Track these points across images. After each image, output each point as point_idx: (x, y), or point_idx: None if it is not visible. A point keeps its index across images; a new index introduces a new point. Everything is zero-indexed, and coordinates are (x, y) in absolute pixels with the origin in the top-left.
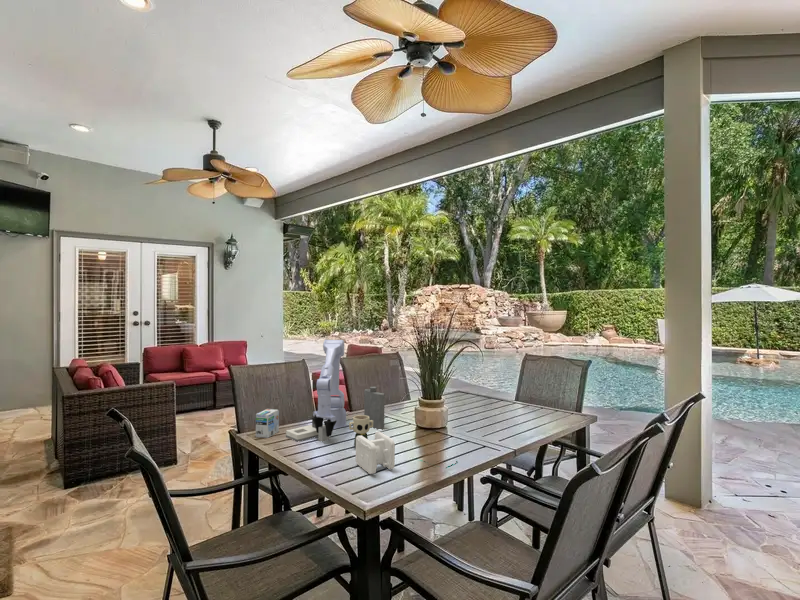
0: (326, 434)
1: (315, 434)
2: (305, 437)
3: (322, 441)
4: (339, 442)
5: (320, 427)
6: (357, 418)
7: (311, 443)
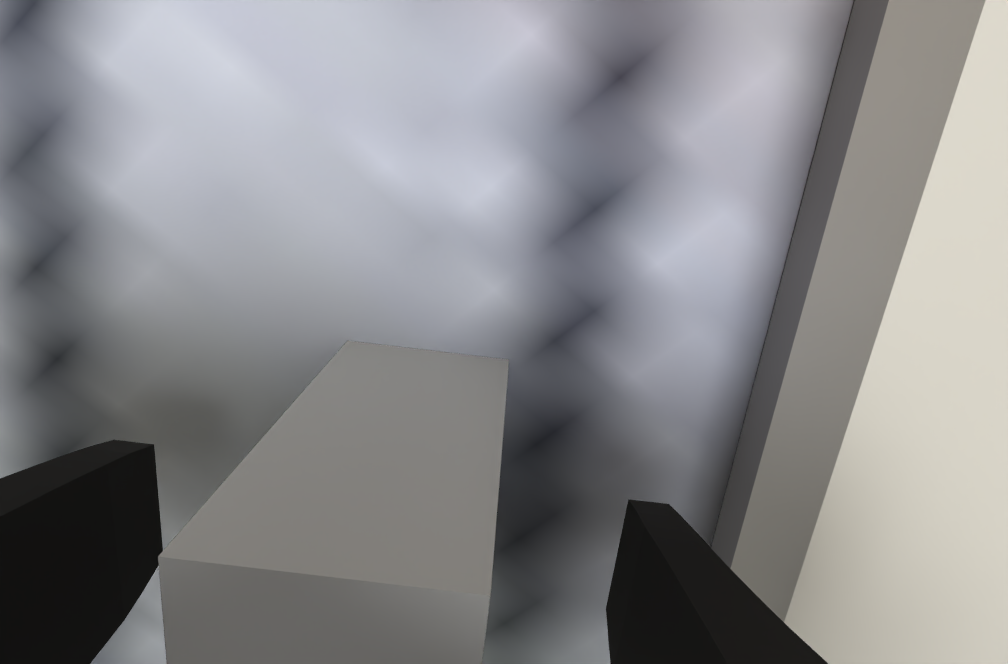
0: (102, 463)
1: (760, 500)
2: (843, 170)
3: (347, 350)
4: None
5: (378, 616)
6: None
7: (452, 76)
